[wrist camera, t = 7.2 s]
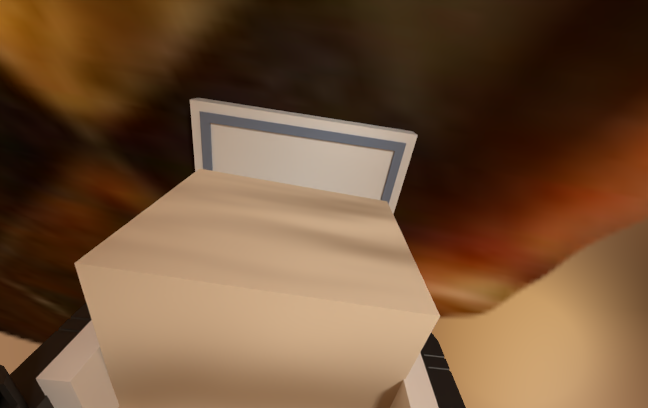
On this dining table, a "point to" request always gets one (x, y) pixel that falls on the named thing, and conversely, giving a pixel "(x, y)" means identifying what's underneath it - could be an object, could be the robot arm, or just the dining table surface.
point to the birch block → (257, 299)
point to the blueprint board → (301, 149)
